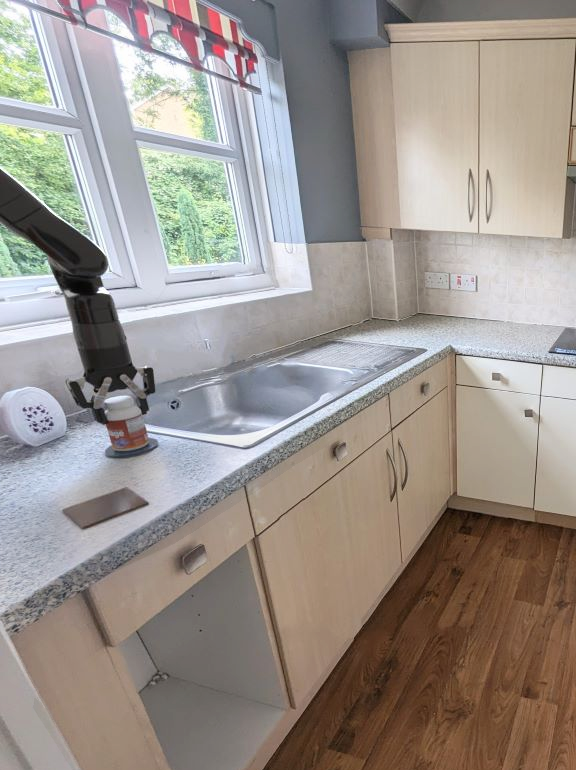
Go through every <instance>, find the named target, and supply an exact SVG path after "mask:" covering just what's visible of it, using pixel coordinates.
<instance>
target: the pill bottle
mask: <svg viewBox="0 0 576 770" xmlns="http://www.w3.org/2000/svg"><path fill="white" fill-rule="evenodd" d="M134 399H135V398H134V397H133V396H131V395H117V396H113V397H109V398H107V399H106V398H105V400H103V403H104V407H105V408H106V409H107V410H104V412H105V416H106V419H107V422H108V424H105V426H106V431H107V433H108V437H109V440H110V444H111V445H112V447H113V449H114V450H116V451H132V450H136V449H140V448H142V447H144V446H146V445H147V444H148V443H149V438H150V437H149V434H148V431H147V427H146V422H145V419H144V415H142V412H141V409H140V408H139V407H137V405H135V400H134Z"/></svg>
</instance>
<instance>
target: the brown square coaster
mask: <svg viewBox="0 0 576 770" xmlns="http://www.w3.org/2000/svg"><path fill="white" fill-rule="evenodd" d="M149 504H150V503H149V501H147V500H146V499H145V498H143V497H142V496H140V495H139V494H138V493H136V492H135V491H133V490H132V489H130V488H129V487H127V486H125V487H122V488H120V489H116V490H114V491H111V492H108V493H105V494H102V495H99V496H96V497H94V498H91V499H88V500H84V501H82V502H79V503H77V504H73V505H70V506H68V507H65V508H62V509H61V512H63V513H64V514H65V515H66V516H67V517H68V518H70V519H71V520H72V521H73V522H74V523H75V524H76V525H77V526H78V527H80V529H82V530H85V529H88V528H91V527H92V526H95V525H98V524H100V523H103V522H106V521H108V520H111V519H114V518H116V517H118V516H121V515H125V514H127V513H129V512H132V511H134V510H137V509H140V508H143V507H146V506H147V505H149Z"/></svg>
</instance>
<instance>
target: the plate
mask: <svg viewBox="0 0 576 770" xmlns="http://www.w3.org/2000/svg"><path fill="white" fill-rule="evenodd" d="M148 438H149V443H148V444H147V445H146V446H144V447H142V448H140V449H136V450H132V451H116V450H114V449H113V447H112V444H111V445H109V446H108V447H107V448H106V449H105V450H104V454H105V456H106V457H108V458H112V459H113V458H114V459H124V458H130V457H131V458H132V457H136V456H140V455H143V454H146V453H148V452H151V451H154V449H156V448H157V447H158V446H159V440H158V439H157V438H154V437H148Z"/></svg>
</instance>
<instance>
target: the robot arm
mask: <svg viewBox="0 0 576 770" xmlns="http://www.w3.org/2000/svg"><path fill="white" fill-rule="evenodd" d="M0 224H1V225H2V226H4V227H5V228H6V229H7V230H9V231H10V232H11V233H13V234H15V235H16V236H18V237H19V238H22V239H24V240H26V241H28V242H29V243H31V244H32V245H34V246H35V247H36V248H37V249H38V250H40V251H41V252H42V253H43V254H45V255H46V258H47V262H48V265H49V268H50V271H51V272H52V275H53V277H54V279H55V281H56V283H57V286H58V287H59V289H60V291H61V293H62V295H63V298H64V300H65V301H64V302H65V305H66V309H67V312H68V317H69V319H70V322H71V326H72V334H73V339H74V340H75V345H76V348H77V350H78V354H79V357H80V362H81V364H82V368H83V371H84V372H83V375H82V376H81V377H76V378H73V379H72V378H67V379H65V381H64V382H65V385H66V387H67V389H68V391H69V393H70V395H71V397H72V398H73V401H74V403H75V404H76V406H78V407H80V408H81V409H90V410H91V412H92V416H93V418H94V419H93V420H94V421H95V422H96V423H98V424H100V425H102V426H106V424H108V422H107V419H106V416H105V409H104V407H102V405H103V403H104V399H106V396H107V394H109V393H113V392H117V391H123V390H129V391H130V392H131V393H132V394H133V395H134V396H135V397H134V399H135V400H134V401H135V403H136V406H137V407H139V408H140V409H141V412H142V415H143V416H145V415H147V414H148V412H149V411H150V406H149V402H148V399H147V398H148V396H149V395H153V394H155V393H156V383H155V382H156V381H155V375H154V374H155V373H154V368H153V367H151V366H148V365H145V364H143V365H142V366H139V367H136V366H135V365H134V364H133V360H132V358H131V353H130V349H129V346H128V341H127V340H128V339H127V336H126V334H125V331H124V327H123V326H122V324H121V321H120V318H119V314H118V311H117V307H116V303H115V300H114V298H113V296H112V294H111V293H110V292H109V291H108V290H107V289H106V288H105V285H104V282H103V280H102V277H101V276H103V275H105V273H107V271H108V268H109V260H108V257H107V255H106V253H105V252H104V251H103V250H102V248H100V246H99V245H97V244H96V243H95V242H94V241H93V240H92V239H90V238H89V237H88V236H86V234H83V232H81V231H80V230H78V229H76V228H75V227H74V226H73V225H71V224H70V223H69V222H68V221H66V220H64V219H63V218H61V217H60V216H58V214H56V213H55V212H54V211H53V210H52V209H51V208H50V207H49V206H47V204H45V203H44V202H43V201H42V200H41V199H40V198H38V197H37V196H36V195H35V194H34V193H32V192H31V191H30V190H29V189H28V188H27V187H25V185H24V184H22V183H21V182H20V181H18V180H17V179H16V178H15V177H13V176H12V175H11V174H10V173H8V172H7V171H6V170H5V169H4V168H2V167H0ZM137 374H138V375H139V376H140V377H141V378H142V387H143V388H142V389H141V388H140V387H139V386H138V385H137V384H136V383H135V382H134V379H135V377H136V376H137ZM85 383H87V384H89V385H91V386H93V387H92V389H91V392H90V398H89V400H87V398H86V396H85V394H84V392H83V389H84V388H85Z"/></svg>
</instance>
